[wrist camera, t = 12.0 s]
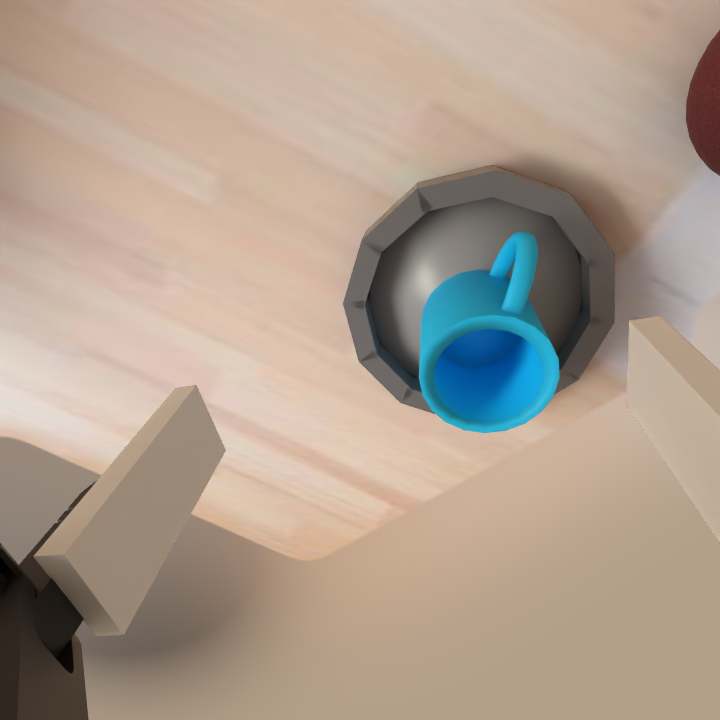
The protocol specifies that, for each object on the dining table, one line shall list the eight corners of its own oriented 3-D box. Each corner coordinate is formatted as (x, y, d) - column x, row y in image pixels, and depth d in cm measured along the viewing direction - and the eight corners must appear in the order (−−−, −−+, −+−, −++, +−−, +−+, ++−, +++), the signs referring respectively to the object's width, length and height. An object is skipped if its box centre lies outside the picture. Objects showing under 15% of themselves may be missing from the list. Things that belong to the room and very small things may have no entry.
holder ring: (380, 413, 41) (377, 430, 39) (325, 204, 33) (318, 211, 31) (603, 385, 37) (614, 402, 35) (600, 139, 29) (614, 142, 27)
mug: (507, 381, 37) (525, 447, 30) (407, 354, 37) (402, 413, 30) (576, 234, 32) (620, 272, 24) (458, 201, 31) (467, 230, 24)
